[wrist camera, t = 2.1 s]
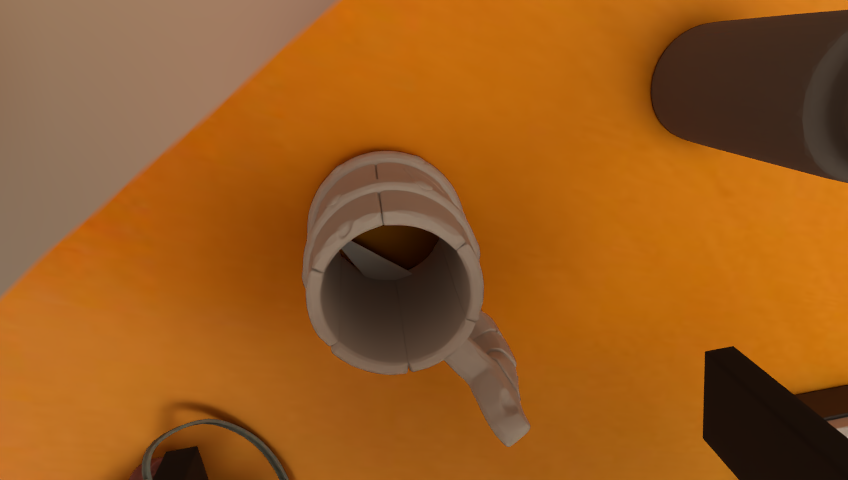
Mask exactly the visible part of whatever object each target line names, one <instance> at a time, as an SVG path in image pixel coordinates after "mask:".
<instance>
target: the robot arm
mask: <svg viewBox="0 0 848 480" xmlns="http://www.w3.org/2000/svg"><path fill="white" fill-rule="evenodd" d="M703 439H704V440H705V441H706V442H707V444H708V445H709V446H710V447H711V448H712V449H713V450H714V452H715V453H716V454H717V455H718V456H719V457H720V458H721V460H722V461H723V462H724V463H725V464H726V465H727V466H728V468H729V469H730V470H731V471H732V472H733V473H734V474H735V476H736V477H737V478H738V479H739V480H848V438H847V437H846V436H845V435H843V434H842V433H841V432H840V431H838V430H837V429H836V428H835V427H833V426H832V425H831V424H830V423H828V422H827V421H826V420H825V419H823V418H822V417H821V416H820V415H818V414H817V413H816V412H815V411H813V410H812V409H811V408H810V407H808V406H807V405H806V404H805V403H803V402H802V401H801V400H800V399H798V398H797V397H796V396H795V395H793V394H792V393H791V392H790V391H788V390H787V389H786V388H785V387H783V386H782V385H781V384H780V383H778V382H777V381H776V380H775V379H773V378H772V377H771V376H770V375H768V374H767V373H766V372H765V371H763V370H762V369H761V368H760V367H758V366H757V365H756V364H755V363H753V362H752V361H751V360H750V359H749V358H747V357H746V356H745V355H744V354H742V353H741V352H740V351H739V350H737V349H736V348H735V347H734V346H732V347H727V348H722V349H716V350H711V351H705V374H704V414H703ZM153 480H208V477H207V474H206V471H205V468H204V465H203V462H202V459H201V456H200V453H199V450H198V447H197V446H196V447H190V448H185V449H179V450H174V451H169V452H166V453H165V455H164V457H163V459H162V461H161V463H160V465H159V467H158V469H157V472H156V474H155V476H154V478H153Z"/></svg>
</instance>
